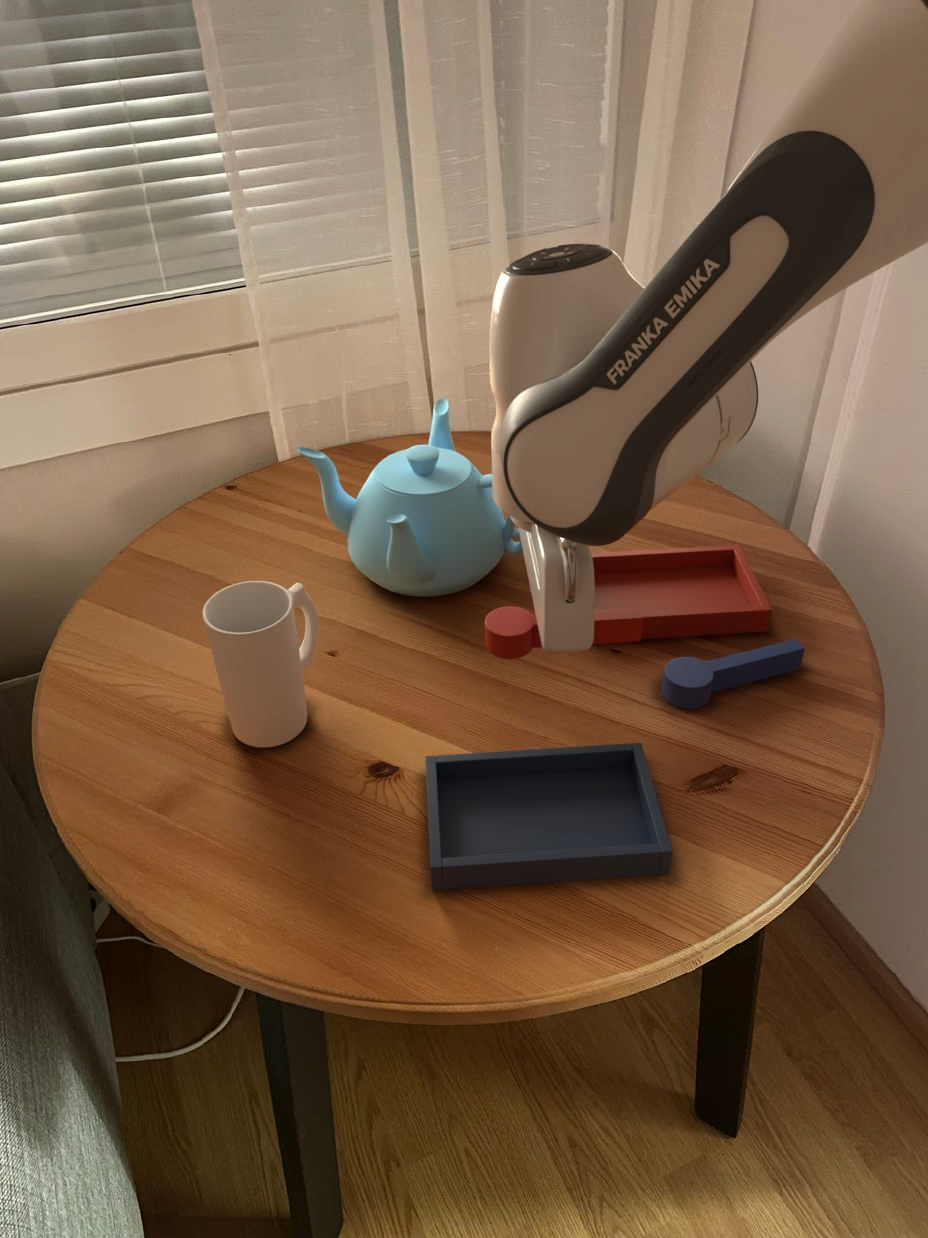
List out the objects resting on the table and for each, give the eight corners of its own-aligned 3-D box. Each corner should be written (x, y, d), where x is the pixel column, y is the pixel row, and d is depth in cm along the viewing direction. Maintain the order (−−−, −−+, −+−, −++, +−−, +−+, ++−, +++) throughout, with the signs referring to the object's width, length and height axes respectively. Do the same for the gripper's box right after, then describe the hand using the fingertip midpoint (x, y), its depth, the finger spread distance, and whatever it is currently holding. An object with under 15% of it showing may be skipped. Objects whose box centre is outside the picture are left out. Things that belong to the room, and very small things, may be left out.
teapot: (303, 554, 103) (288, 447, 95) (447, 493, 112) (443, 391, 104) (401, 634, 92) (392, 520, 85) (551, 559, 101) (555, 450, 94)
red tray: (735, 565, 100) (739, 544, 98) (768, 631, 91) (772, 609, 90) (569, 574, 99) (570, 553, 97) (586, 642, 91) (588, 620, 89)
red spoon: (634, 621, 84) (636, 598, 83) (643, 651, 81) (646, 627, 80) (483, 630, 84) (483, 607, 83) (487, 661, 81) (486, 637, 79)
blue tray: (638, 765, 78) (641, 742, 77) (669, 875, 70) (673, 851, 69) (426, 778, 78) (425, 755, 76) (432, 891, 69) (430, 868, 68)
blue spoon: (782, 651, 89) (787, 629, 87) (808, 679, 86) (814, 657, 84) (653, 684, 86) (656, 662, 84) (676, 714, 83) (679, 692, 81)
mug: (268, 763, 80) (244, 646, 72) (211, 728, 83) (183, 613, 75) (354, 694, 86) (340, 579, 78) (298, 664, 89) (279, 552, 82)
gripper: (622, 549, 65) (610, 708, 73) (574, 411, 81) (569, 553, 90) (525, 556, 65) (524, 714, 73) (496, 415, 81) (499, 558, 89)
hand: (549, 624), depth 81 cm, fingers closed on red spoon, 1 cm apart
